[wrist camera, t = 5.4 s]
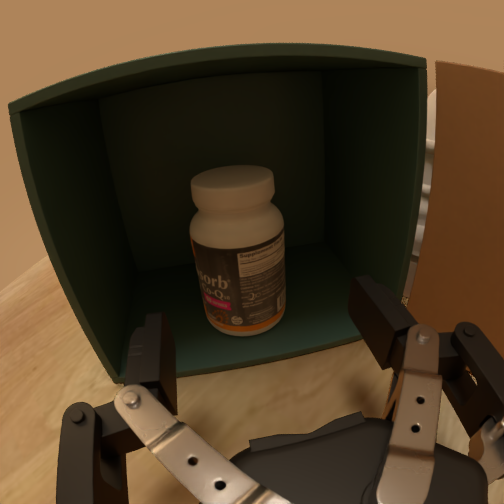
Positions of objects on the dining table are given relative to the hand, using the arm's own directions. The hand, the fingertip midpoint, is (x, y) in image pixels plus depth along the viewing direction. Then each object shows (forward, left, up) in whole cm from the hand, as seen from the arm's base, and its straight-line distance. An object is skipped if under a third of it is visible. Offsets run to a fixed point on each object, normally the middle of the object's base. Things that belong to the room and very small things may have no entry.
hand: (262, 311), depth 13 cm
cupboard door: (+17, +6, -7) cm, 19 cm away
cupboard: (-5, +7, -7) cm, 11 cm away
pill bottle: (-4, +6, -6) cm, 9 cm away
